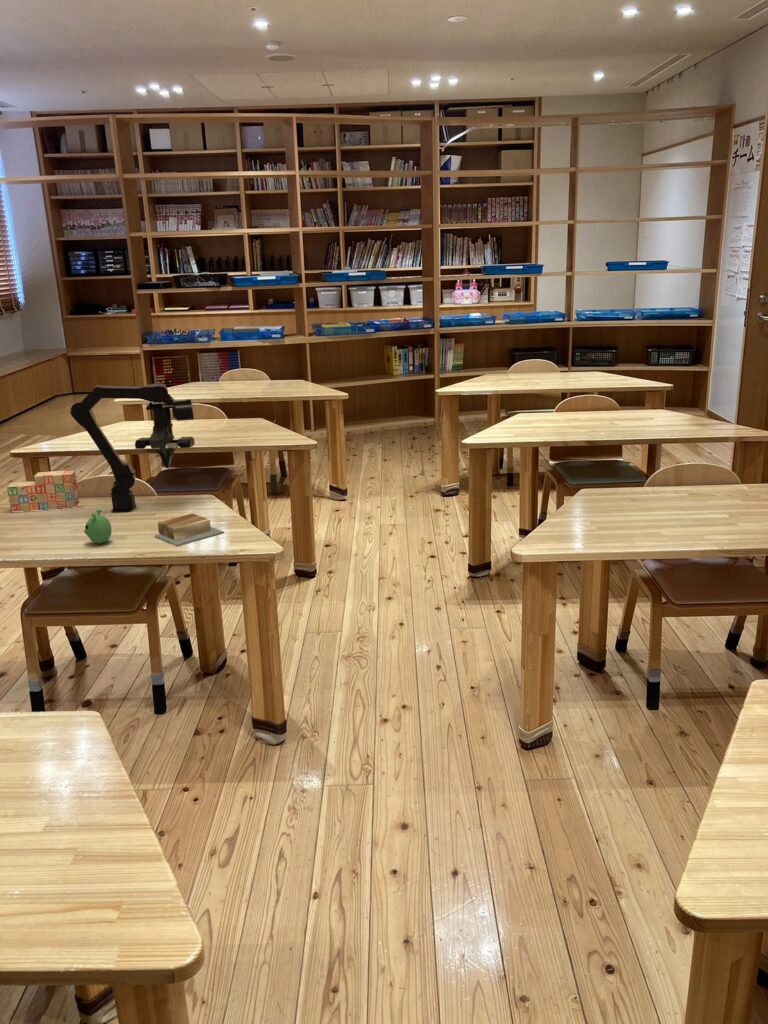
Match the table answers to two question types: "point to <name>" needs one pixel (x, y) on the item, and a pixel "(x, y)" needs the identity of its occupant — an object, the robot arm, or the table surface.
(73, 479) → the stack of blocks
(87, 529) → the alien toy
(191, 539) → the mat
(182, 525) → the slab
